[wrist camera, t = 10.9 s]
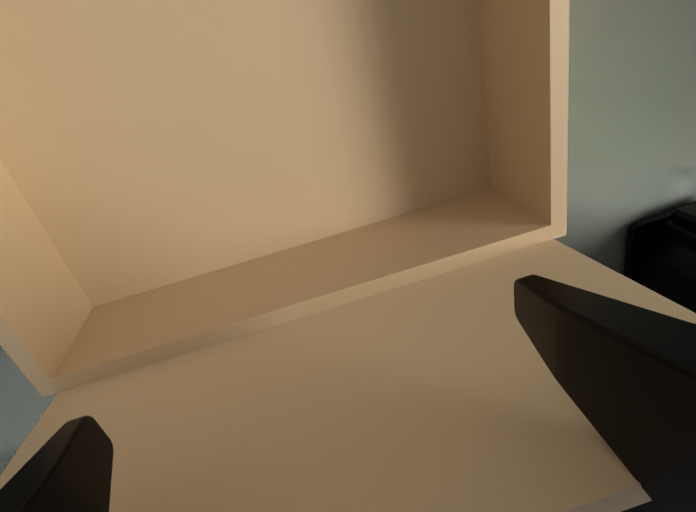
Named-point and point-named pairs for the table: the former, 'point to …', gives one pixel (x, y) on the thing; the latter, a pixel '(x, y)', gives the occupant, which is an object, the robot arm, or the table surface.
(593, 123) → the table surface
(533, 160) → the carton
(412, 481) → the flap
